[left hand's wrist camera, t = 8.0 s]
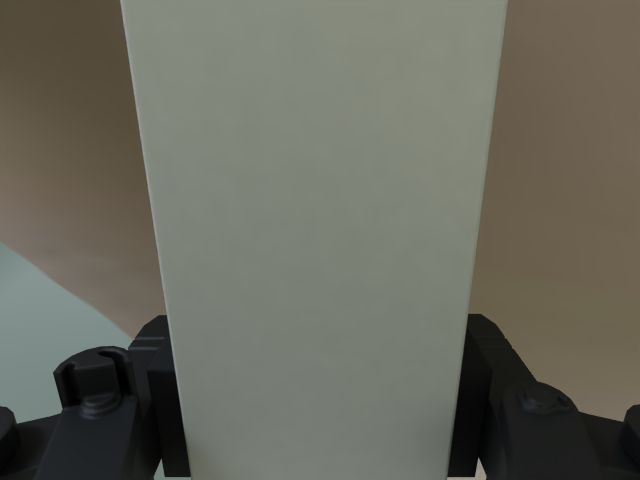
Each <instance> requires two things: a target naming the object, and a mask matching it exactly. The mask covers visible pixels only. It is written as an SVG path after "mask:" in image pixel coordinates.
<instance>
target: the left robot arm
mask: <svg viewBox="0 0 640 480" xmlns="http://www.w3.org/2000/svg"><path fill="white" fill-rule="evenodd" d="M53 374H54V378H55V382H56V386H57V389H58V393H59V397H60V401H61V404H62V408H63V410H62V412H61V413H60V414H57V415H54V416H50V417H45V418H41V419H37V420H32V421H27V422H23V423H18V424H17V423H16V419H15V416H14V413H13V412H12V411H11V410H9V409H8V408H7V407H1V406H0V480H154V475H155V472H156V470H157V467H158V465H159V463H160V460H161V458H162V463H163V469H164V475H165V477H191V473H190V466H189V459H188V453H187V446H186V439H185V433H184V426H183V419H182V412H181V406H180V399H179V392H178V385H177V379H176V372H175V365H174V359H173V352H172V345H171V338H170V332H169V325H168V318H167V315H159V316H157V317H156V318H154V319H153V320H151V321H150V322H149V323H147V324H146V325H144V326H143V328H142V329H141V331H140V332H139V333H138V335H137V336H136V338H135V340H133V342H132V343H131V345H130V346H129V347H128V350H126V349H124V348H120V347H116V346H101V347H96V348H92V349H88V350H85V351H82V352H80V353H77V354H75V355H73V356H71V357H70V358H68V359H67V360H65V361H64V362H62V363H61V364H60V365H59V366H58V367H57V368H56V370H55V371H54V372H53ZM478 457H479V459H480V461H481V464H482V466H483V468H484V471H485V473H486V476H487V477H486V480H640V404H639V405H633V406H632V407H631V408H630V409H628V410H627V412H626V415H625V418H624V421H623V422H621V421H616V420H612V419H607V418H603V417H598V416H594V415H589V414H586V413H582V412H579V411H578V409H577V407H576V406H575V404H574V403H573V402H572V400H571V399H570V398H569V397H568V396H566V395H565V394H564V393H562V392H561V391H560V390H558V389H556V388H554V387H552V386H550V385H548V384H545V383H541V382H537V381H536V379H535V378H534V376H533V375H532V374H531V372H530V371H529V370H528V368H527V367H526V365H525V364H524V363H523V361H522V360H521V358H520V357H519V356H518V354H517V353H516V351H515V350H514V349H512V346H511V345H510V343H509V342H508V340H507V339H505V336H504V335H503V333H502V332H501V331H500V329H499V328H498V326H497V325H496V324H495V323H493V322H492V321H490V320H489V319H487V318H486V317H485V316H483V315H482V314H468V318H467V326H466V334H465V342H464V349H463V357H462V365H461V373H460V381H459V389H458V397H457V404H456V412H455V420H454V428H453V436H452V444H451V452H450V460H449V467H448V475H447V477H475V473H476V467H477V462H478Z"/></svg>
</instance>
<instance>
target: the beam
mask: <svg viewBox="0 0 640 480" xmlns="http://www.w3.org/2000/svg"><path fill="white" fill-rule="evenodd" d="M120 2H121V9H122V15H123V22H124V29H125V36H126V42H127V49H128V56H129V63H130V69H131V76H132V83H133V89H134V96H135V103H136V110H137V116H138V123H139V130H140V137H141V143H142V150H143V157H144V163H145V170H146V177H147V184H148V190H149V197H150V204H151V211H152V217H153V224H154V231H155V237H156V244H157V251H158V258H159V264H160V271H161V278H162V285H163V291H164V298H165V305H166V311H167V318H168V325H169V332H170V338H171V345H172V352H173V359H174V365H175V372H176V379H177V385H178V392H179V399H180V406H181V412H182V419H183V426H184V433H185V439H186V446H187V453H188V459H189V466H190V473H191V480H447V475H448V467H449V460H450V452H451V444H452V436H453V428H454V420H455V412H456V404H457V397H458V389H459V381H460V373H461V365H462V357H463V349H464V342H465V334H466V326H467V318H468V310H469V302H470V294H471V287H472V279H473V271H474V263H475V255H476V247H477V239H478V231H479V224H480V216H481V208H482V200H483V192H484V184H485V176H486V169H487V161H488V153H489V145H490V137H491V129H492V121H493V114H494V106H495V98H496V90H497V82H498V74H499V66H500V59H501V51H502V43H503V35H504V27H505V19H506V11H507V3H508V0H120Z"/></svg>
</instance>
